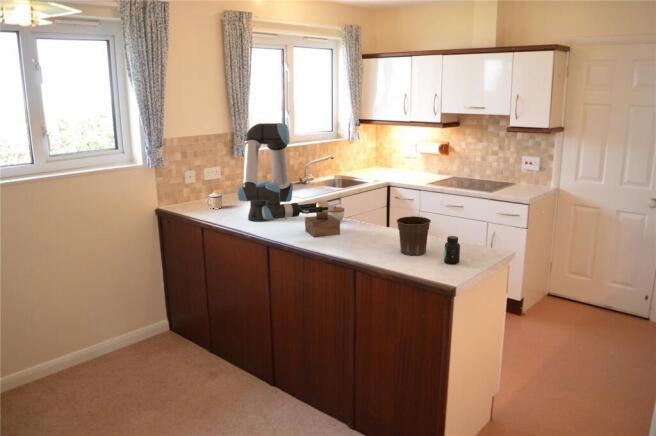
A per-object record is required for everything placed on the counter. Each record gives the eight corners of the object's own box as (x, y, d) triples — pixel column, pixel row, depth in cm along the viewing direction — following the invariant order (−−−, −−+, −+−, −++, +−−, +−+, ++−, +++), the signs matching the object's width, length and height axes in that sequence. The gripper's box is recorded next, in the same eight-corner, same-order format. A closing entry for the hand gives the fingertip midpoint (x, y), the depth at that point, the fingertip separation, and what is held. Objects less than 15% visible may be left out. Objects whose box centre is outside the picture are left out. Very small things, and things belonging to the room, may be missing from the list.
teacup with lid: (219, 206, 373) (218, 189, 370) (225, 208, 366) (224, 191, 364) (203, 208, 366) (201, 191, 363) (209, 210, 359) (208, 193, 356)
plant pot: (407, 259, 252) (408, 225, 248) (390, 250, 266) (390, 218, 263) (436, 254, 258) (437, 222, 254) (418, 245, 273) (418, 215, 269)
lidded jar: (333, 218, 333) (333, 203, 331) (348, 220, 327) (347, 205, 325) (323, 221, 324) (323, 206, 322) (338, 224, 318) (337, 208, 316)
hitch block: (305, 231, 304) (304, 217, 302) (329, 228, 310) (329, 214, 308) (314, 237, 291) (314, 223, 289) (340, 234, 296) (339, 220, 294)
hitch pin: (315, 229, 301) (314, 201, 298) (325, 228, 304) (325, 200, 300) (319, 231, 296) (318, 203, 292) (329, 230, 298) (329, 202, 294)
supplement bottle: (442, 263, 244) (443, 238, 241) (445, 259, 250) (446, 234, 248) (458, 265, 242) (459, 239, 239) (460, 260, 248) (461, 235, 245)
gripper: (285, 213, 300) (324, 209, 308) (296, 220, 282) (337, 216, 291) (285, 200, 298) (324, 196, 306) (296, 206, 281) (337, 202, 289)
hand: (330, 206), depth 298 cm, fingers closed on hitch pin, 6 cm apart
